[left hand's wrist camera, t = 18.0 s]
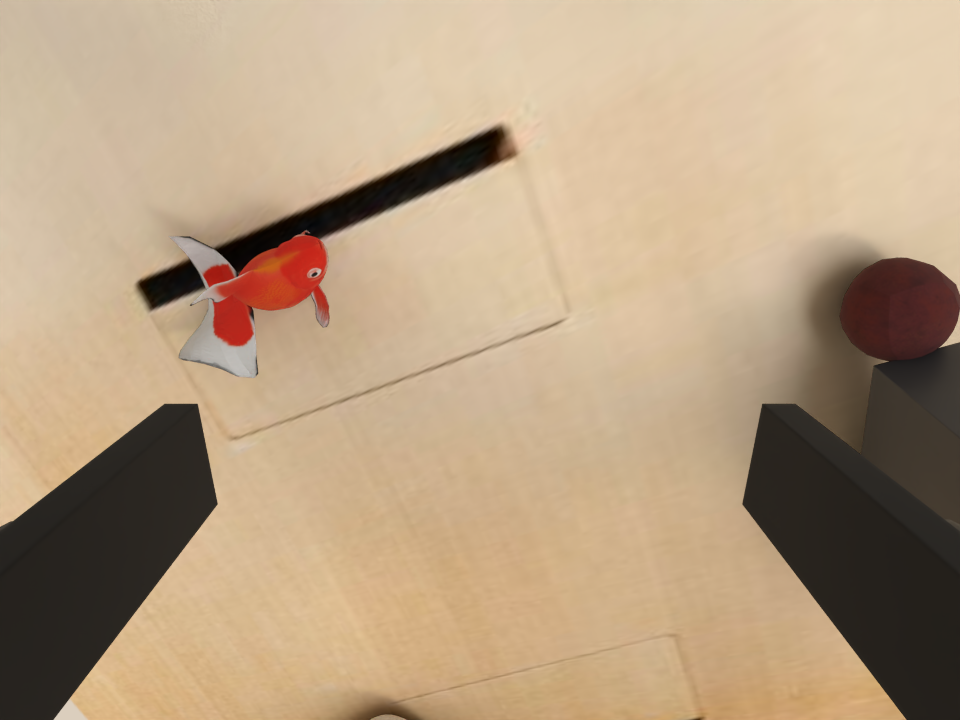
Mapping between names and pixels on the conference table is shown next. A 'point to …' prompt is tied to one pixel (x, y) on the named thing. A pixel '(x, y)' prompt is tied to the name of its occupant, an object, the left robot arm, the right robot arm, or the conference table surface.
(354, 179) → the conference table surface
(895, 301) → the potato
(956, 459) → the box
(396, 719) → the projector
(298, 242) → the fish
